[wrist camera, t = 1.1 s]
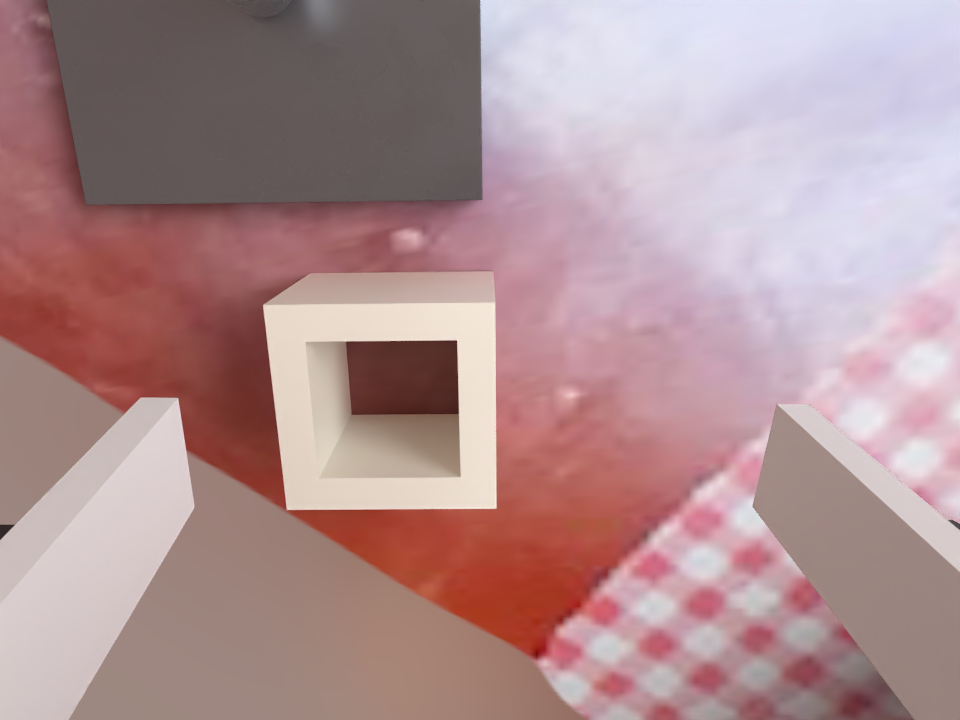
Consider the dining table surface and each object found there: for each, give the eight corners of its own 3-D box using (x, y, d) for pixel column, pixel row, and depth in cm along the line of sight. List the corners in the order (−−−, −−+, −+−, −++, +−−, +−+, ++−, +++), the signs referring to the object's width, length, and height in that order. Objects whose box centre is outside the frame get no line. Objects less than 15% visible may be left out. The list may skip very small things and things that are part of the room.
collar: (494, 439, 34) (496, 508, 28) (325, 441, 34) (286, 509, 28) (493, 271, 32) (495, 302, 25) (310, 273, 32) (262, 304, 25)
